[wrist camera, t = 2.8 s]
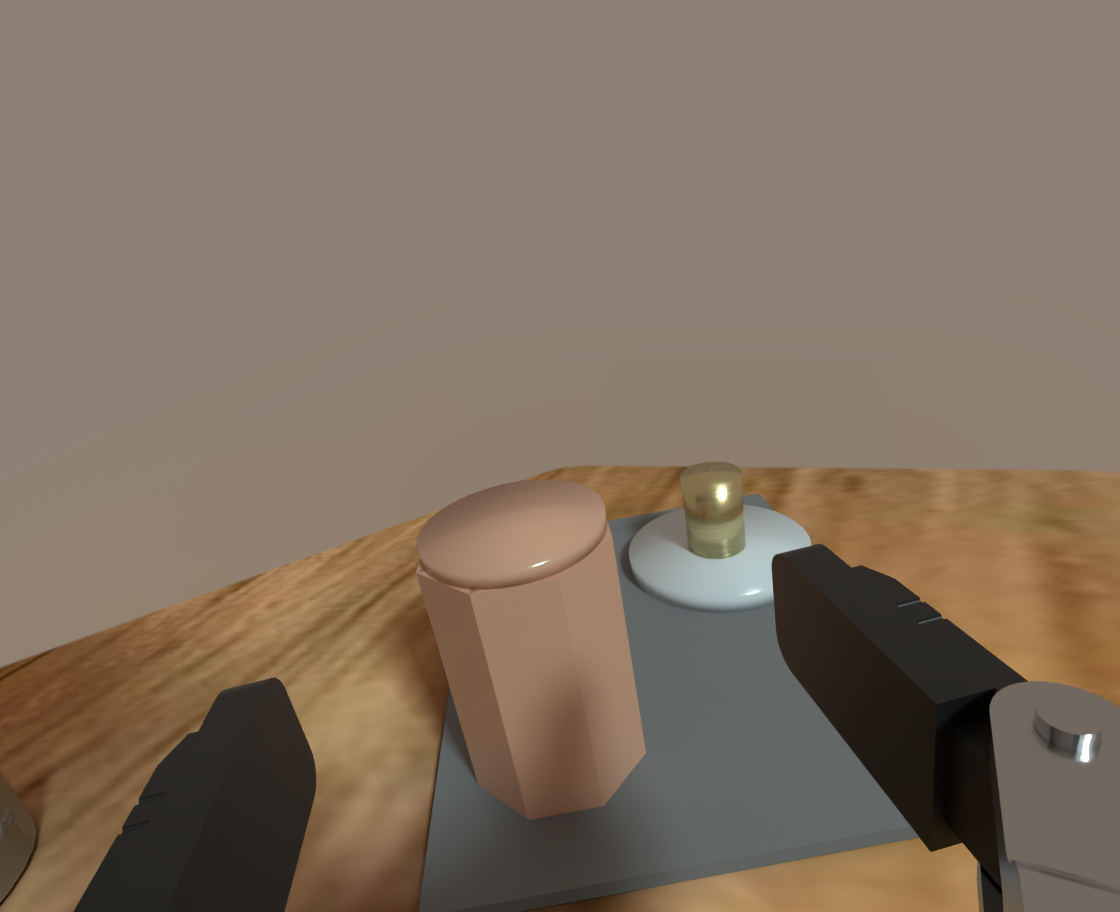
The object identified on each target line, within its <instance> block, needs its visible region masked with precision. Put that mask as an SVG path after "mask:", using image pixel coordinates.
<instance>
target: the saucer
mask: <svg viewBox="0 0 1120 912" xmlns="http://www.w3.org/2000/svg"><path fill="white" fill-rule="evenodd" d="M743 507H744V522H745V537H746V546H745V548H744V550H743V551H742V552H740V553H739V554H737V555H735V556H733V557H729V558H724V559H706V558H702V557H699V556H696V555H695V554H693V553H692V552H691V551H690V550H689V548H688V541H687V532H686V522H685V513H684V508H683V509H680V510H676V511H673V512H670V513H667V514H665V515H663V516H660V517H658V518H656V519H654V520H653V521H651V522H649V523H648V524H646V525H645V526H644V527H643V528H641V529H640V530H639V531H638V532H637V534H636V535H635V536H634V537H633V539H632V541H631V543H630V547H629V558H630V565H631V571H632V575H633V578H634V580H635V581H636V583H637V584H638V585H639V587H640V588H641V589H642V590H643V591H645V592H646V593H647V594H649V595H650V596H651V597H653V598H655V599H657V600H659V601H661V602H663V603H666V604H668V605H671V606H674V607H678V608H681V609H686V610H691V611H698V612H708V613H727V612H739V611H746V610H751V609H756V608H760V607H763V606H767V605H770V604H773V603H774V596H773V582H772V566H771V565H772V559H773V557H774V556H775V555H776V554H779V553H783V552H787V551H792V550H796V549H800V548H804V547H808V546H811V541H810V538H809V536H808V534H807V533H806V531H805V530H804V529H803V528H802V527H801V526H800V525H799V524H798V523H797V522H795V521H794V520H792V519H791V518H789V517H787V516H785V515H783V514H780V513H778V512H775V511H772V510H769V509H765V508H761V507H757V506H751V505H743Z"/></svg>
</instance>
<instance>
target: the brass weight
mask: <svg viewBox="0 0 1120 912" xmlns="http://www.w3.org/2000/svg"><path fill="white" fill-rule="evenodd" d="M681 485H682V494H683V503H684V513H685V522H686V532H687V541H688V548H689V550H690V551H691V552H692V553H693V554H695V555H696V556H699V557H702V558H706V559H724V558H729V557H733V556H735V555H737V554H739V553H740V552H742V551H743V550H744V548H745V546H746V537H745V522H744V507H743V493H742V478H741V470H740V469H739V468H738V467H737V466H735V465H733V464H730V463H725V462H706V463H700V464H696V465H693V466H690V467H688V468H686V469H685V470H684V471H683V472H682V473H681Z"/></svg>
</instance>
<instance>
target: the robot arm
mask: <svg viewBox="0 0 1120 912" xmlns="http://www.w3.org/2000/svg"><path fill="white" fill-rule="evenodd" d="M771 566H772V582H773V596H774V610H775V624H776V635H777V640H778V644H779V647H780V650H781V653H782V656H783V658H784V660H785V662H786V664H787V666H788V668H789V669H790V671H791V672H792V674H793V675H794V676H795V677H796V679H797V680H798V681H799V683H800V684H801V685H802V686H803V688H804V689H805V690H806V692H807V693H808V694H809V695H810V697H811V698H812V699H813V701H814V702H815V703H816V705H817V706H818V707H819V708H820V710H821V711H822V712H823V714H824V715H825V716H826V717H827V719H828V720H829V721H830V723H831V724H832V725H833V726H834V728H835V729H836V730H837V732H838V733H839V734H840V735H841V737H842V738H843V739H844V741H845V742H846V743H847V745H848V746H849V747H850V748H851V750H852V751H853V752H854V754H855V755H856V756H857V757H858V759H859V760H860V761H861V763H862V764H863V765H864V766H865V768H866V769H867V770H868V772H869V773H870V774H871V775H872V777H873V778H874V779H875V781H876V782H877V783H878V785H879V786H880V787H881V788H882V790H883V791H884V792H885V794H886V795H887V796H888V797H889V799H890V800H891V801H892V803H893V804H894V805H895V806H896V808H897V809H898V810H899V812H900V813H901V814H902V815H903V817H904V818H905V819H906V821H907V822H908V823H909V825H910V826H911V827H912V828H913V830H914V831H915V832H916V834H917V835H918V836H919V837H920V839H921V840H922V841H923V843H924V844H925V845H926V846H927V848H928V849H929V850H930V852H932V851H936V850H939V849H942V848H946V847H949V846H953V845H956V844H959V843H963V844H964V845H965V846H966V847H967V848H968V850H969V851H970V852H971V853H972V854H973V856H974V857H975V858H976V859H977V860H978V865H977V889H978V902H979V912H1120V707H1119V706H1117V705H1115V704H1113V703H1112V702H1110V701H1108V700H1106V699H1104V698H1102V697H1100V696H1098V695H1096V694H1093V693H1090V692H1088V691H1085V690H1082V689H1079V688H1076V687H1072V686H1068V685H1063V684H1059V683H1052V682H1038V681H1031V682H1028V681H1027V680H1026V679H1024V678H1023V677H1022V676H1020V675H1019V674H1018V673H1017V672H1015V671H1014V670H1013V669H1011V668H1010V667H1009V666H1007V665H1006V664H1005V663H1004V662H1002V661H1001V660H1000V659H998V658H997V657H996V656H994V655H993V654H992V653H991V652H989V651H988V650H987V649H985V648H984V647H983V646H982V645H980V644H979V643H978V642H976V641H975V640H974V639H972V638H971V637H970V636H969V635H967V634H966V633H965V632H963V631H962V630H961V629H959V628H958V627H957V626H956V625H954V624H953V623H952V622H950V621H949V620H948V619H943V618H942V616H941V614H940V613H939V612H937V611H936V610H935V609H933V608H932V607H931V606H930V605H928V604H927V603H926V602H923V603H922V602H921V601H920V598H919V597H918V596H917V595H915V594H914V593H913V592H911V591H910V590H909V589H907V588H906V587H905V586H904V585H902V584H901V583H900V582H898V581H897V580H896V579H894V578H892V577H889V576H887V575H884V574H882V573H879V572H877V571H874V570H872V569H869V568H867V567H864V566H862V565H861V566H857V567H853V568H851V567H850V566H849V565H847V564H846V563H845V562H844V561H843V560H841V559H840V558H839V557H838V556H837V555H835V554H834V553H833V552H832V551H831V550H829V549H828V548H827V547H825V546H824V545H822V544H816V545H812V546H808V547H804V548H800V549H796V550H792V551H787V552H783V553H779V554H776V555H775V556H774V557H773V559H772V565H771ZM315 790H316V769H315V762H314V758H313V754H312V751H311V749H310V746H309V744H308V742H307V739H306V737H305V734H304V732H303V730H302V727H301V725H300V723H299V720H298V718H297V715H296V713H295V711H294V708H293V706H292V704H291V701H290V699H289V696H288V694H287V692H286V689H285V687H284V685H283V684H282V682H281V681H280V680H278V679H277V678H270V679H266V680H262V681H258V682H254V683H250V684H246V685H242V686H238V687H234V688H230V689H226V690H223V691H222V692H220V694H219V695H218V696H217V698H216V700H215V701H214V703H213V705H212V707H211V709H210V711H209V713H208V715H207V716H206V718H205V720H204V722H203V724H202V726H201V728H200V730H199V731H198V732H194V733H190V734H188V735H187V736H186V737H185V738H184V739H183V740H182V741H181V742H180V743H179V744H178V745H177V746H176V747H175V748H174V749H173V750H172V751H171V752H170V753H169V754H168V756H167V757H166V758H165V759H164V760H163V761H162V762H161V763H160V764H159V765H158V766H157V768H156V769H155V771H154V773H153V775H152V776H151V778H150V780H149V782H148V783H147V785H146V787H145V789H144V790H143V792H142V794H141V795H140V797H139V805H136V806H134V808H133V809H132V811H131V813H130V815H129V816H128V818H127V820H126V822H125V823H124V825H123V827H122V829H123V832H122V834H120V835H117V837H116V839H115V841H114V842H113V844H112V846H111V848H110V849H109V851H108V853H107V854H106V856H105V858H104V860H103V861H102V863H101V865H100V867H99V868H98V870H97V872H96V874H95V875H94V877H93V879H92V880H91V882H90V884H89V886H88V887H87V889H86V891H85V893H84V894H83V896H82V898H81V900H80V901H79V903H78V905H77V906H76V908H75V910H74V912H284V911H285V907H286V904H287V900H288V896H289V892H290V888H291V884H292V881H293V877H294V873H295V869H296V865H297V862H298V858H299V854H300V850H301V846H302V842H303V839H304V835H305V831H306V827H307V823H308V819H309V816H310V812H311V808H312V804H313V800H314V796H315ZM36 832H37V831H36V827H35V823H34V819H33V818H32V816H31V815H30V813H29V812H28V810H27V809H26V807H25V806H24V804H23V803H22V801H21V800H20V798H19V797H18V795H17V794H16V792H15V791H14V789H13V788H12V786H11V785H10V783H9V782H8V780H7V779H6V777H5V776H4V774H3V773H2V771H1V770H0V902H1V901H2V900H3V899H4V898H5V897H6V895H7V894H8V893H9V891H10V890H11V888H12V887H13V885H14V884H15V882H16V881H17V879H18V878H19V876H20V875H21V873H22V872H23V870H24V868H25V866H26V864H27V862H28V860H29V857H30V855H31V853H32V851H33V849H34V843H35V838H36Z"/></svg>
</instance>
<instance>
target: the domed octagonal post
mask: <svg viewBox="0 0 1120 912" xmlns="http://www.w3.org/2000/svg"><path fill="white" fill-rule="evenodd" d="M417 550H418V554H419V557H420V560H419V564H418V567H417V571H416V575H417V578H418V581H419V585H420V588H421V592H422V595H423V598H424V602H425V605H426V609H427V612H428V615H429V619H430V622H431V626H432V629H433V632H434V636H435V639H436V643H437V646H438V649H439V653H440V656H441V660H442V663H443V666H444V670H445V673H446V677H447V680H448V683H449V687H450V690H451V694H452V697H453V700H454V704H455V707H456V711H457V714H458V717H459V721H460V724H461V728H462V731H463V734H464V738H465V741H466V745H467V748H468V751H469V755H470V758H471V762H472V765H473V768H474V772H475V775H476V779H477V782H478V784H479V785H480V786H482V787H483V788H484V789H486V790H487V791H489V792H490V793H491V794H493V795H494V796H496V797H497V798H498V799H500V800H501V801H503V802H504V803H505V804H507V805H508V806H510V807H511V808H512V809H514V810H515V811H517V812H518V813H519V814H521V815H522V816H524V817H525V818H526V819H528V820H531V819H536V818H542V817H547V816H552V815H558V814H563V813H568V812H574V811H579V810H585V809H590V808H595V807H601V806H604V805H605V804H606V802H607V801H608V800H609V799H610V797H611V796H612V795H613V794H614V792H615V791H616V790H617V789H618V787H619V786H620V785H621V784H622V782H623V781H624V780H625V779H626V777H627V776H628V775H629V774H630V772H631V771H632V770H633V769H634V767H635V766H636V765H637V764H638V762H639V761H640V760H641V759H642V757H643V756H644V755H645V754H646V749H645V743H644V736H643V730H642V723H641V717H640V711H639V704H638V698H637V691H636V685H635V679H634V672H633V666H632V659H631V653H630V647H629V640H628V634H627V628H626V621H625V615H624V608H623V602H622V596H621V589H620V583H619V576H618V570H617V564H616V557H615V551H614V545H613V538H612V534H611V531H610V528H609V525H608V522H607V518H606V512H605V506H604V502H603V500H602V498H601V497H600V496H599V494H598V493H596V492H595V491H594V490H592V489H590V488H589V487H587V486H584V485H581V484H578V483H574V482H569V481H563V480H528V481H520V482H514V483H508V484H503V485H499V486H496V487H492V488H488V489H485V490H482V491H479V492H476V493H473V494H471V495H469V496H466V497H464V498H462V499H459V500H458V501H456V502H454V503H452V504H450V505H448V506H447V507H445V508H443V509H442V510H441V511H439V512H438V513H436V514H435V515H434V516H433V517H432V518H431V519H429V521H428V522H427V523H426V524H425V525H424V526H423V528H422V529H421V531H420V533H419V535H418V537H417Z"/></svg>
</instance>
